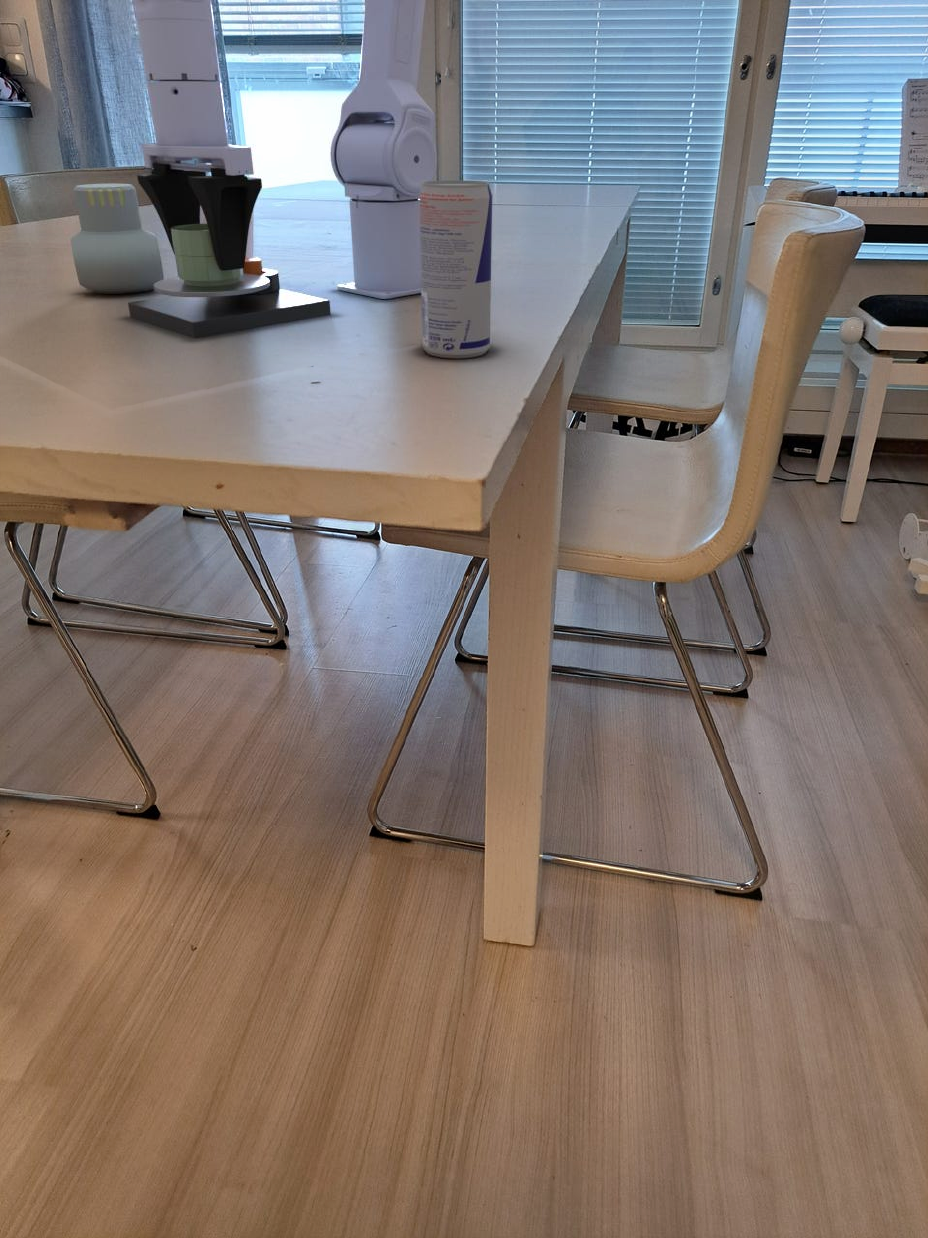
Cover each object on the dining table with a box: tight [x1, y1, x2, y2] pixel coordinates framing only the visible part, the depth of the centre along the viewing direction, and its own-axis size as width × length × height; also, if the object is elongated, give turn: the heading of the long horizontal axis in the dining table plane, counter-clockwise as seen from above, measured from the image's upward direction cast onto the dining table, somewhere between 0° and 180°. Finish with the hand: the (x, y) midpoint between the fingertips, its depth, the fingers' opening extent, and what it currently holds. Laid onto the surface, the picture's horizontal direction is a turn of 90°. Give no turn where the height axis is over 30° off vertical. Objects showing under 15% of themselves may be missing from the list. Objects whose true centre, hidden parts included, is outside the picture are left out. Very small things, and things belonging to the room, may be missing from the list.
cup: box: [171, 222, 243, 287], centre depth 75 cm, size 6×6×4 cm
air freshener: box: [70, 183, 165, 295], centre depth 89 cm, size 11×8×10 cm
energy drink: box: [419, 179, 493, 359], centre depth 66 cm, size 5×5×12 cm
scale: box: [127, 268, 332, 339], centre depth 80 cm, size 14×12×3 cm
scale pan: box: [153, 274, 270, 297], centre depth 77 cm, size 10×10×1 cm
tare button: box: [243, 257, 263, 275], centre depth 83 cm, size 3×3×2 cm
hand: (209, 264), depth 76 cm, fingers open, 7 cm apart
